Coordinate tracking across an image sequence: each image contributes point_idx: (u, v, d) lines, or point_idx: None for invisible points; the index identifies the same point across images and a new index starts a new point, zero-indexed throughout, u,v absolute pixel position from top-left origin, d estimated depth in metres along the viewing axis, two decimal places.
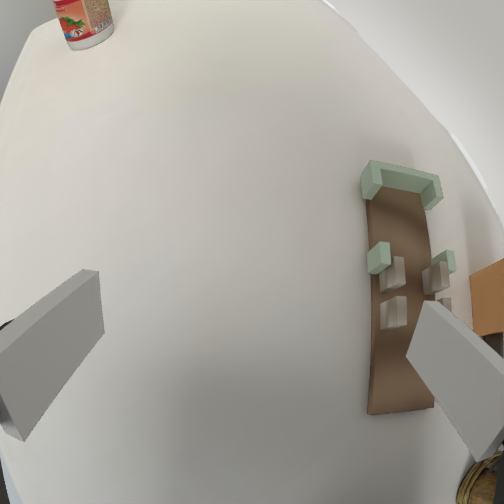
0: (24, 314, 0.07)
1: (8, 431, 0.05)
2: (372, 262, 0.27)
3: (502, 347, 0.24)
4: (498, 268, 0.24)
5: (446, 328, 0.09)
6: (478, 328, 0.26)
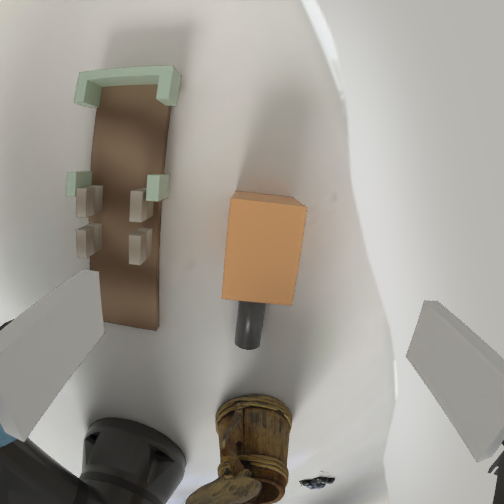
0: (24, 314, 0.07)
1: (8, 431, 0.05)
2: None
3: None
4: None
5: (446, 328, 0.09)
6: None
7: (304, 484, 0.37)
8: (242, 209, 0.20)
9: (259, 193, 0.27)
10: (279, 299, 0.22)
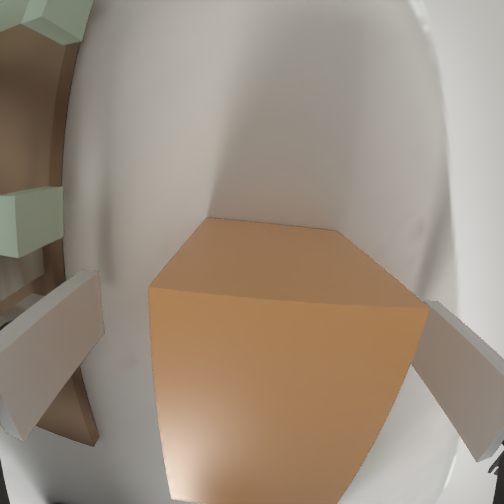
0: (24, 314, 0.07)
1: (8, 431, 0.05)
2: None
3: None
4: None
5: (446, 328, 0.09)
6: None
7: None
8: (198, 329, 0.05)
9: (261, 223, 0.12)
10: (308, 501, 0.07)
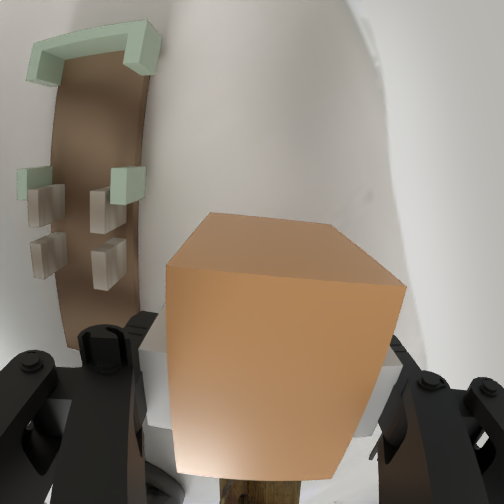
0: None
1: (155, 422, 0.07)
2: None
3: None
4: None
5: None
6: None
7: None
8: (207, 301, 0.06)
9: (261, 217, 0.13)
10: (305, 474, 0.08)
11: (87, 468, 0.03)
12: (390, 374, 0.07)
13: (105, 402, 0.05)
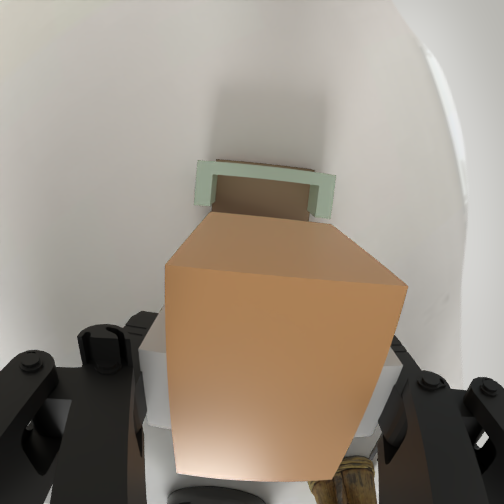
0: None
1: (155, 422, 0.07)
2: None
3: None
4: None
5: None
6: None
7: None
8: (207, 301, 0.06)
9: None
10: (305, 475, 0.08)
11: (87, 468, 0.03)
12: (390, 374, 0.07)
13: (105, 402, 0.05)
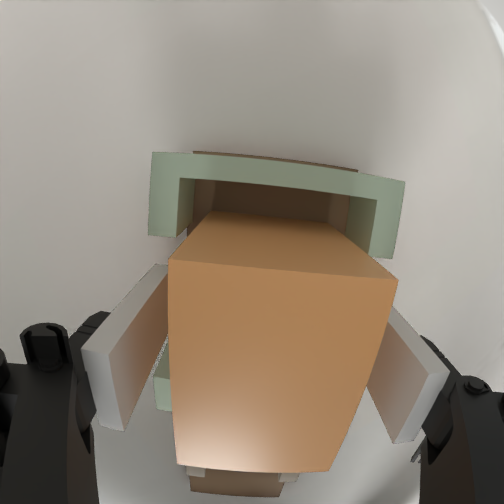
0: (121, 306, 0.09)
1: (106, 423, 0.07)
2: None
3: None
4: None
5: None
6: None
7: None
8: (207, 293, 0.06)
9: (260, 215, 0.13)
10: (302, 466, 0.08)
11: (31, 462, 0.03)
12: (438, 381, 0.06)
13: (47, 398, 0.05)
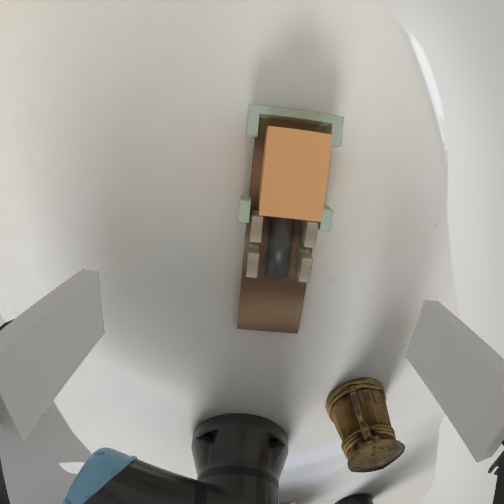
0: (24, 314, 0.07)
1: (8, 431, 0.05)
2: None
3: (286, 226, 0.29)
4: (266, 136, 0.24)
5: (446, 328, 0.09)
6: (259, 195, 0.30)
7: None
8: (278, 135, 0.22)
9: None
10: (310, 215, 0.24)
11: None
12: None
13: None
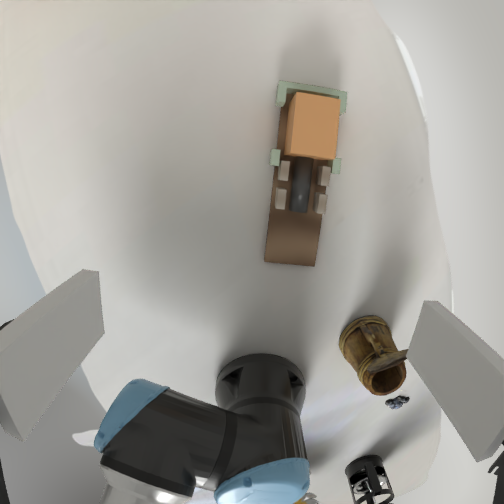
0: (24, 314, 0.07)
1: (8, 431, 0.05)
2: (270, 159, 0.38)
3: (306, 170, 0.37)
4: (293, 101, 0.33)
5: (446, 328, 0.09)
6: (285, 148, 0.38)
7: (388, 403, 0.51)
8: (303, 98, 0.31)
9: None
10: (326, 154, 0.32)
11: None
12: None
13: None
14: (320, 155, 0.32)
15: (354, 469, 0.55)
